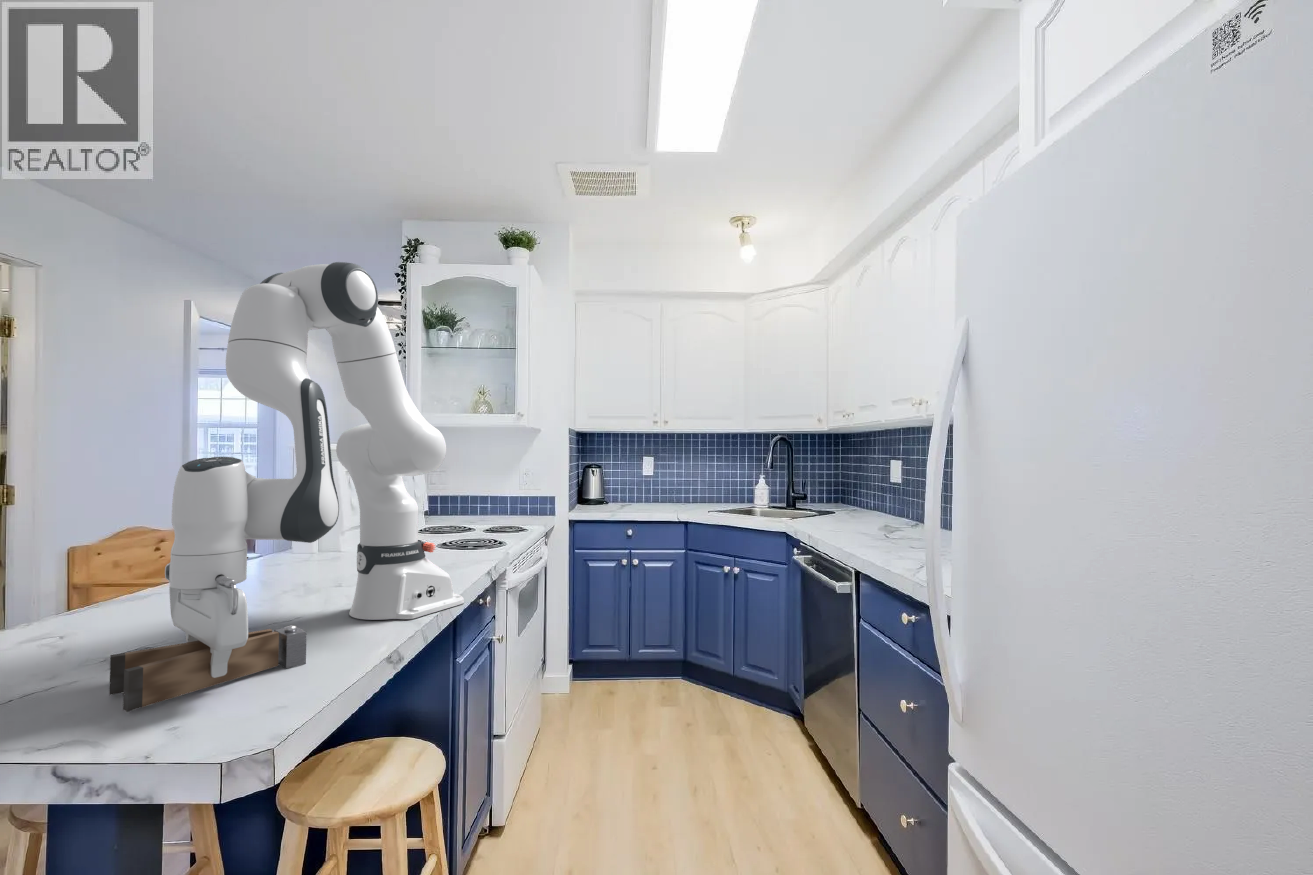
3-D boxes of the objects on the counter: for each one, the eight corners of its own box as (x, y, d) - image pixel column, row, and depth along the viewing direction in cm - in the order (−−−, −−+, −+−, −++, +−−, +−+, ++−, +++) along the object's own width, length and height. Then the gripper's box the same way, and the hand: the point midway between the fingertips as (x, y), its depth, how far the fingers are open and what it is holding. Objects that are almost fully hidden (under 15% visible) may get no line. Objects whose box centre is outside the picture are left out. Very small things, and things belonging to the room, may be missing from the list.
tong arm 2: (273, 664, 92) (274, 631, 93) (278, 665, 92) (279, 632, 92) (122, 709, 76) (124, 669, 76) (127, 711, 76) (128, 671, 76)
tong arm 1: (269, 661, 94) (270, 628, 94) (271, 663, 93) (272, 630, 93) (109, 692, 81) (110, 654, 82) (109, 695, 81) (110, 657, 81)
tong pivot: (292, 657, 97) (293, 622, 97) (305, 663, 94) (306, 627, 94) (273, 661, 95) (274, 625, 95) (286, 668, 92) (286, 631, 92)
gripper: (263, 577, 83) (260, 679, 82) (211, 559, 95) (209, 648, 95) (207, 585, 78) (205, 693, 77) (161, 565, 90) (158, 658, 90)
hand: (207, 668), depth 86 cm, fingers open, 7 cm apart
